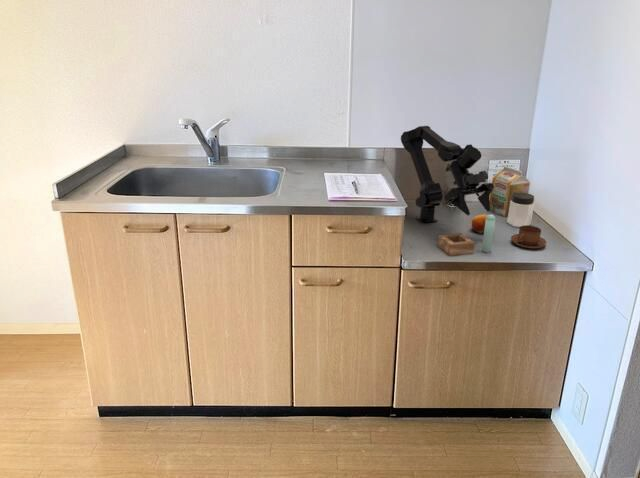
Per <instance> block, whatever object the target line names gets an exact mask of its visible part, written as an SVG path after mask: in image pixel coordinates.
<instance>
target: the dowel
mask: <svg viewBox="0 0 640 478" xmlns="http://www.w3.org/2000/svg"><path fill="white" fill-rule="evenodd" d="M487 215H488V216H487V217H486V222H485V229H484V232H483V237H482V245H481V252H483V253H486V254H487V253H491V252H492V247H493V239H494V233H495V227H496V226H495V225H496V220H497V218H496V216H495V214H487Z"/></svg>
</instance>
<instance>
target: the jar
mask: <svg viewBox="0 0 640 478" xmlns="http://www.w3.org/2000/svg"><path fill="white" fill-rule="evenodd" d="M534 207H535V196H534V195H533V194H530V193H529V192H528V193H514V194H513V195H512V200H511V201H510V207H509V213H508V217H507V219H506V220H507V221H506V222H507V224H509V225H511V226H512V227H515V228H517V227H518V228H520V227H521V226H525V225H528V226H532V225H531V224H532V217H533V213H534Z"/></svg>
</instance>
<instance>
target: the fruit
mask: <svg viewBox="0 0 640 478" xmlns="http://www.w3.org/2000/svg"><path fill="white" fill-rule="evenodd" d="M488 215H489V214H478V215H476V216H474V217H473V218H472V219H471V228H472V230H473V232H475V233H476V232H477V233H479V234H482V233H484V229H485V222H486V217H487V216H488Z"/></svg>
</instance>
